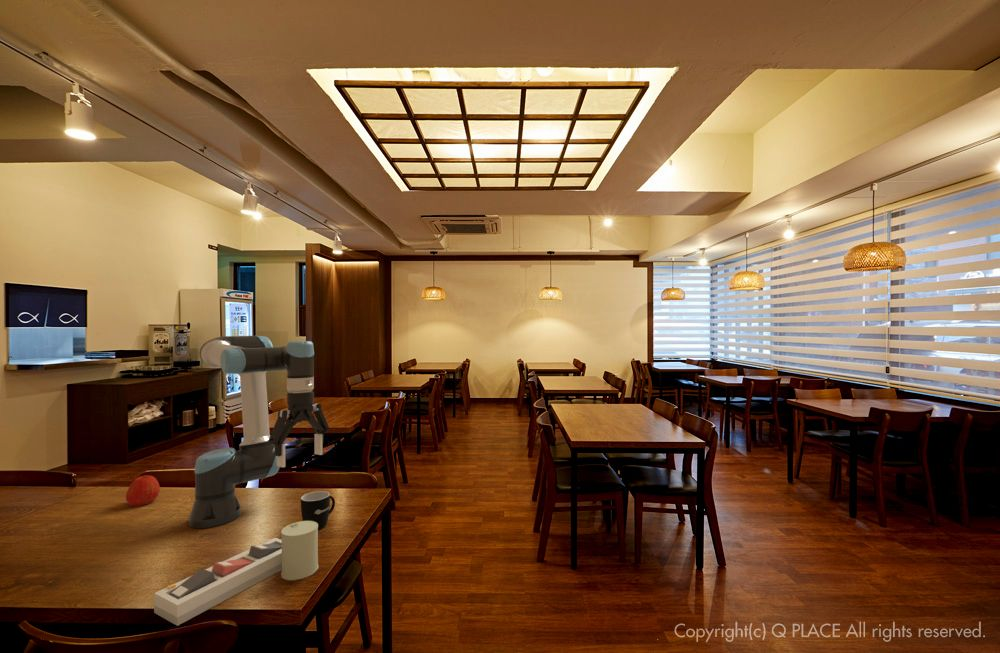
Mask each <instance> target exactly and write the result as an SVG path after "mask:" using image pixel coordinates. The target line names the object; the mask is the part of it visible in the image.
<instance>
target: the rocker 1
mask: <svg viewBox="0 0 1000 653" xmlns="http://www.w3.org/2000/svg"><path fill="white" fill-rule="evenodd" d="M190 576H191V577H190ZM190 576H189V577H190V578H189V579H187V580H186V581H185V582H183V583H182V584H181V585H179V586H178V587H177V588H175V589H174V590H173V591H171V592H170V593H169V595H170V596H172V597H174V598H176V599H180V598H182V597H184V596H186V595H188V594H190V593H192V592H194V591H196V590H198V589H201V588H203V587H205V586H207V585H208V584H209V583H211V582H212V581H213V580H214V579H215V577H214V575H213V573H212V572H210V571H207V570H205V569H204V568H201V569H199V570H198V571H197V572H195V573H193V576H192V575H190Z"/></svg>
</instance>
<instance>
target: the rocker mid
mask: <svg viewBox="0 0 1000 653" xmlns="http://www.w3.org/2000/svg"><path fill="white" fill-rule="evenodd" d="M251 563H253V562H250V561H247V560H245V559H237V560H230V561H225V560H223V561H218V562H214V563H213V565H212V566H213V568H212V571H214V572H216V573H218V574H221V575H227V574H231V573H233V572H235V571H237V570H239V569H241V568H243V567H245V566H247V565H249V564H251Z"/></svg>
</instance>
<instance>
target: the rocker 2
mask: <svg viewBox="0 0 1000 653" xmlns="http://www.w3.org/2000/svg"><path fill="white" fill-rule="evenodd" d="M249 549H250V551H249V554H252V555H255V556H258V557H264V556H268V555H270V554H272V553H274V552H276V551H278V550H280V549H282V545H280V544H277V543H272V544H264V545H260V544H257V545H251V546H250V548H249Z"/></svg>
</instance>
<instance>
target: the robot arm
mask: <svg viewBox="0 0 1000 653" xmlns="http://www.w3.org/2000/svg"><path fill="white" fill-rule="evenodd" d="M286 344H287V345H286V346H273V343H272V341H271V340H270V338H268V337H267V336H265V335H235V336H234V335H233V336H232V335H231V336H230V335H227V336H224V335H223V336H216V337H214V338H211V339H209V340H207V341H205V342H203V344H202V345H201V346H200V348H199V352H198V354H199V355H198V356H199V358H200V360H201V362H202V363H203V364H204V365H206V366H209V367H213V368H221V371H222V372H223V373H224V374H229V375H230V374H232V375H234V374H235V375H239V382H240V395H241V396H240V398H241V399H240V400H241V415H242V430H243V440H242V441H241V442H240V444H239V450H236V449H235V448H233V447H224V448H223V447H222V448H218V449H212V450H210V451H207V452H205V453H203V454H202V455H200V456H198V457H197V459H196V460H195V467H194V471H193V472H194V479H195V480H194V484H195V487H194V493H195V495H194V496H195V499H194V502H193V505H192V508H191V510H190V514H189V516H188V526H189V527H191V528H194V529H206V528H213V527H218V526H222V525H224V524H228V523H230V522H232V521H234V520H236V519H238V518H239V517H240V516H241V514H242V507H241V505H240V501H239V500H238V497H237V495H236V485H240V484H243V483H247V482H253V481H257V480H261V479H263V480H264V479H266V478H268V477H272V476H275V475H276V474H277V473H278V472H279V471H280V468H286V444H285V443H284V442H285V440H286V439H287V437H288V436H289V434H290V433H291V432H292V430H293V428H294V427H295V426H296V425H297V424H298V423H302V422H306V421H307V422H308V424H309V425H310V426H311V428H313V430H314V431H315V432H316V433H314V455H318V456H322V455H323V444H324V442H325V435H326V434H327V431H329V429H330V426H329V424H328V422H327V419H326V417H325V414H324V413H323V410H322V404H321V403H316V402H315V392H314V391H313V390H314V388H315V384H314V383H315V381H314V380H315V379H314V378H315V373H314V372H315V350H314V342H312V341H311V340H300V341H299V340H297V341H296V340H295V341H293V340H292V341H288V342H287V343H286ZM277 371H278V372H279V371H286V390H287V391H288V392H287V394H286V404H287V406H288V407H287V410H284V409H279V410H278V412H277V419H276V420H275V423H274V426H273V429H271V430H272V431H271V433H270V421H269V420H270V419H269V408H268V407H269V404H268V403H269V402H268V393H267V392H268V389H267V378H266V377H267V376H266V375H267V374H266V373H268V372H277Z"/></svg>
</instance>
